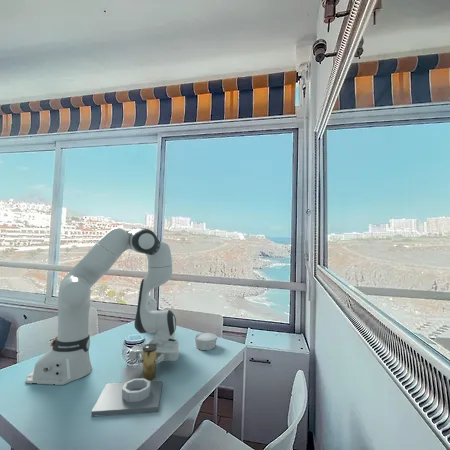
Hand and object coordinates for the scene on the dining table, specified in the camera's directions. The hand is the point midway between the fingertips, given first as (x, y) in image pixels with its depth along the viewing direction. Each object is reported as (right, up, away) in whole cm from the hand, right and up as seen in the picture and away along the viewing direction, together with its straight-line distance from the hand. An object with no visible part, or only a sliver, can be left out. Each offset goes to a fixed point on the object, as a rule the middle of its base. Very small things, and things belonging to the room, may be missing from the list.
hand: (148, 361), depth 109 cm
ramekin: (+20, -8, +31) cm, 37 cm away
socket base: (-3, -6, -14) cm, 15 cm away
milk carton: (-16, -8, +56) cm, 59 cm away
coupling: (0, -7, +1) cm, 7 cm away
